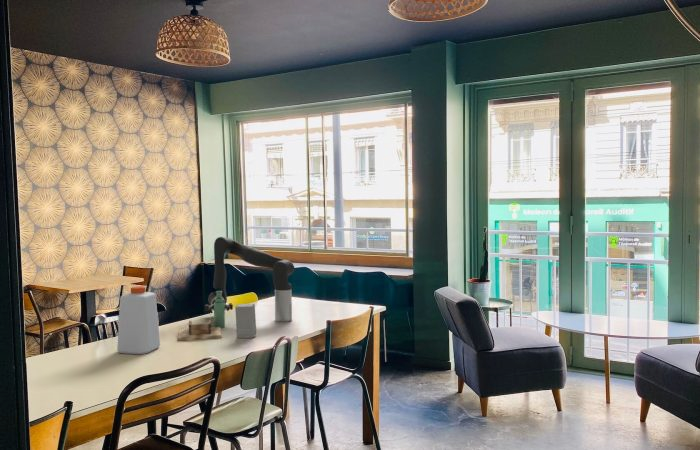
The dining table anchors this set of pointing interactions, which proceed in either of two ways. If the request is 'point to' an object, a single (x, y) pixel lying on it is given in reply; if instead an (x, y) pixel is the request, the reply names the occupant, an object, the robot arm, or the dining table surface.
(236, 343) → the dining table surface
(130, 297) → the plastic bottle
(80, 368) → the dining table surface
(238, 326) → the skincare box
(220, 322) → the bottle
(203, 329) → the u rest
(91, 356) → the dining table surface
